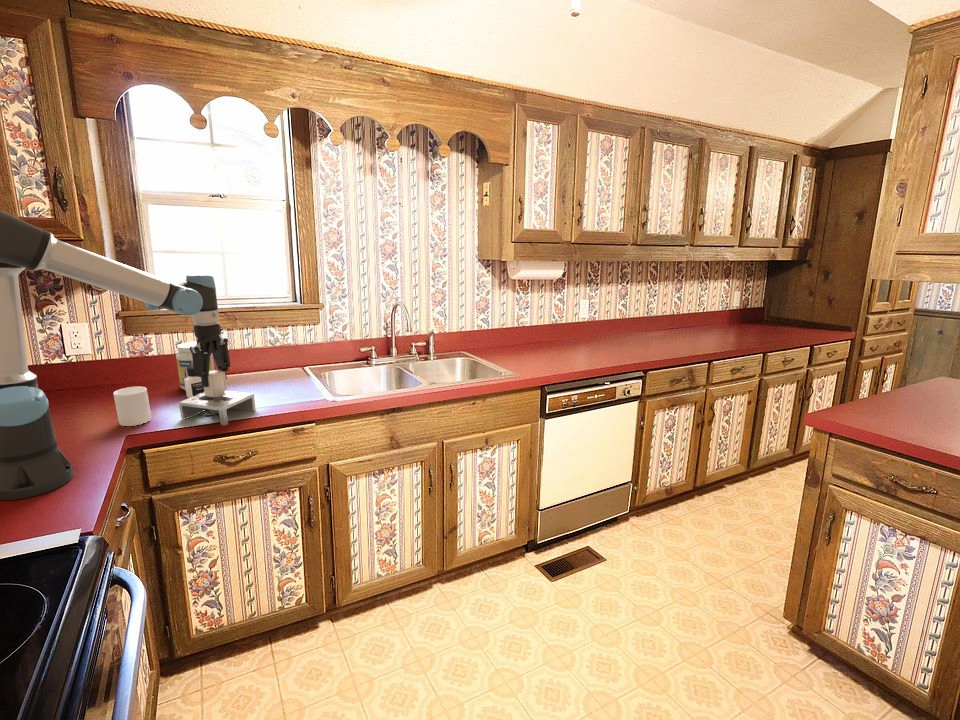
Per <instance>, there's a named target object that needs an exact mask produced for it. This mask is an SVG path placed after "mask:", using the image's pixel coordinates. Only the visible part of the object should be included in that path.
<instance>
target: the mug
mask: <svg viewBox="0 0 960 720" xmlns="http://www.w3.org/2000/svg"><path fill="white" fill-rule="evenodd" d="M112 394H113V398H114V403H115V404H114V405H115V409H116V414H117V419H118V423H119V425H120V426H121V425H122V426H121V427H123V426H133V425H139V424H143V423H146V422H148V421H150V422H151V420H152V412H151V408H150V407H151V406H150V400H149V394H148V389H147V387H145V386H127V387H124V388H120V389H117V390H115V391H113V393H112ZM148 423H149V422H148ZM146 424H147V423H146Z"/></svg>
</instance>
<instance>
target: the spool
mask: <svg viewBox="0 0 960 720" xmlns="http://www.w3.org/2000/svg"><path fill="white" fill-rule="evenodd" d="M209 376H210V377H211V380H212V387H213V394H214V396H208V397H214V400H221V398H220V396H223V395H225V386H224V379H223V372H222V371H220V370H218V369H217V370H215V369H214V371H209ZM226 410H227V411H228V409H226ZM209 411H210V412H209V413H210V414H219V410H212V409H209Z"/></svg>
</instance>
